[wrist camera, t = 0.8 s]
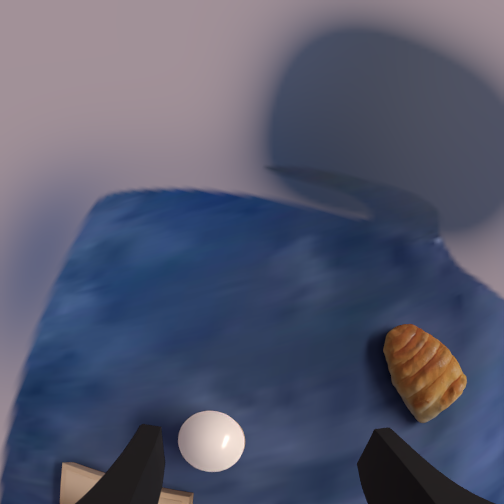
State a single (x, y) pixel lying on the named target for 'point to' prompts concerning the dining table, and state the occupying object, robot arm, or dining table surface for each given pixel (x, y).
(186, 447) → the pot
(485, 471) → the dining table surface
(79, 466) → the base board
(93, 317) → the dining table surface
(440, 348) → the pastry
